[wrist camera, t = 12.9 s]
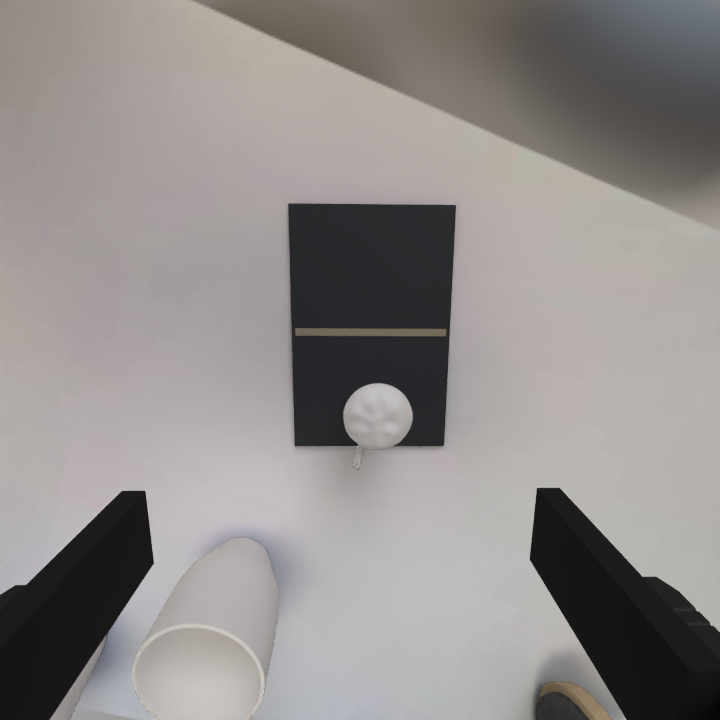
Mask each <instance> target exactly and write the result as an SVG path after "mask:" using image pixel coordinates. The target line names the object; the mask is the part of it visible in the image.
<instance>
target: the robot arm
mask: <svg viewBox="0 0 720 720" xmlns="http://www.w3.org/2000/svg"><path fill="white" fill-rule="evenodd" d="M530 561H531V562H532V564H533V566H534V567H535V569H536V570H537V572H538V574H539V575H540V577H541V579H542V580H543V582H544V584H545V585H546V587H547V589H548V590H549V592H550V594H551V595H552V597H553V599H554V600H555V602H556V604H557V605H558V607H559V608H560V610H561V612H562V613H563V615H564V617H565V618H566V620H567V622H568V623H569V625H570V627H571V628H572V630H573V632H574V633H575V635H576V637H577V638H578V640H579V641H580V643H581V645H582V646H583V648H584V650H585V651H586V653H587V655H588V656H589V658H590V660H591V661H592V663H593V665H594V666H595V668H596V670H597V671H598V673H599V675H600V676H601V678H602V679H603V681H604V683H605V684H606V686H607V688H608V689H609V691H610V693H611V694H612V696H613V698H614V699H615V701H616V703H617V704H618V706H619V708H620V709H621V711H622V712H623V714H624V716H625V717H626V719H627V720H720V632H719V631H718V630H717V629H716V628H715V627H714V626H711V625H710V622H709V621H708V620H707V619H706V618H705V617H704V616H703V615H702V614H701V613H700V612H697V611H696V610H695V607H694V606H693V605H692V604H691V603H690V602H689V601H688V600H687V599H686V598H685V597H684V596H683V595H682V594H681V593H680V592H679V591H677V590H676V589H674V588H673V587H671V586H670V585H668V584H666V583H665V582H663V581H662V580H660V579H659V578H657V577H642V576H641V575H640V574H639V573H638V571H637V570H636V569H635V568H634V567H633V566H632V565H631V564H630V563H629V562H628V561H627V560H626V559H625V558H624V556H623V555H622V554H621V553H620V552H619V551H618V550H617V549H616V548H615V547H614V546H613V545H612V544H611V543H610V541H609V540H608V539H607V538H606V537H605V536H604V535H603V534H602V533H601V532H600V531H599V530H598V529H597V528H596V526H595V525H594V524H593V523H592V522H591V521H590V520H589V519H588V518H587V517H586V516H585V515H584V514H583V513H582V511H581V510H580V509H579V508H578V507H577V506H576V505H575V504H574V503H573V502H572V501H571V500H570V499H569V498H568V496H567V495H566V494H565V493H564V492H563V491H562V490H561V489H560V488H537V494H536V504H535V513H534V523H533V533H532V543H531V552H530ZM153 564H154V561H153V552H152V544H151V535H150V527H149V518H148V510H147V501H146V493H145V491H122V492H121V493H120V494H118V495H117V496H116V497H115V498H114V499H113V500H112V501H111V502H110V503H109V504H108V505H107V506H106V507H105V508H104V509H103V510H102V511H101V512H100V513H99V514H98V515H97V516H96V517H95V518H94V519H93V520H92V521H91V522H90V523H89V524H88V525H87V526H86V527H85V528H84V529H83V530H82V531H81V532H80V533H79V534H78V535H77V536H76V537H75V538H74V539H73V540H72V541H71V542H70V543H69V544H68V545H67V546H66V547H65V548H63V549H62V550H61V551H60V552H59V553H58V554H57V555H56V556H55V557H54V558H53V559H52V560H51V561H50V562H49V563H48V564H47V565H46V566H45V567H44V568H43V569H42V570H41V571H40V572H39V573H38V574H37V575H36V576H35V577H34V578H33V579H32V580H31V581H30V582H29V583H28V584H27V585H15V586H14V587H12V588H11V589H9V590H7V591H6V592H4V593H3V594H1V595H0V720H50V719H51V717H52V716H53V714H54V713H55V711H56V710H57V708H58V707H59V705H60V704H61V702H62V701H63V699H64V698H65V696H66V695H67V693H68V692H69V690H70V689H71V687H72V686H73V684H74V683H75V681H76V680H77V678H78V677H79V675H80V674H81V672H82V671H83V669H84V667H85V666H86V664H87V663H88V661H89V660H90V658H91V657H92V655H93V654H94V652H95V651H96V649H97V648H98V646H99V645H100V643H101V642H102V640H103V639H104V637H105V636H106V634H107V633H108V631H109V630H110V628H111V627H112V625H113V624H114V622H115V621H116V619H117V618H118V616H119V615H120V613H121V612H122V610H123V609H124V607H125V606H126V604H127V603H128V601H129V600H130V598H131V597H132V595H133V594H134V592H135V591H136V589H137V588H138V586H139V585H140V583H141V582H142V580H143V579H144V577H145V576H146V574H147V573H148V571H149V570H150V568H151V567H152V565H153Z"/></svg>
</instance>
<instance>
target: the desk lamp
mask: <svg viewBox="0 0 720 720" xmlns="http://www.w3.org/2000/svg"><path fill="white" fill-rule="evenodd" d="M536 720H612V719H611V718H610V717H609V715H608V714H607V713H606V711H605V710H604V709H603V708H602V707H601V706H600V704H599V703H598V702H597V701H596V700H595V699H594V698H593V697H592V696H591V695H590V694H589V693H587V692H586V691H585V690H584V689H582V688H581V687H579V686H577V685H575V684H573V683H571V682H549V683H547V684H546V685H544V687H543V688H542V690H541V692H540V698H539V701H538V704H537V710H536Z"/></svg>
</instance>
